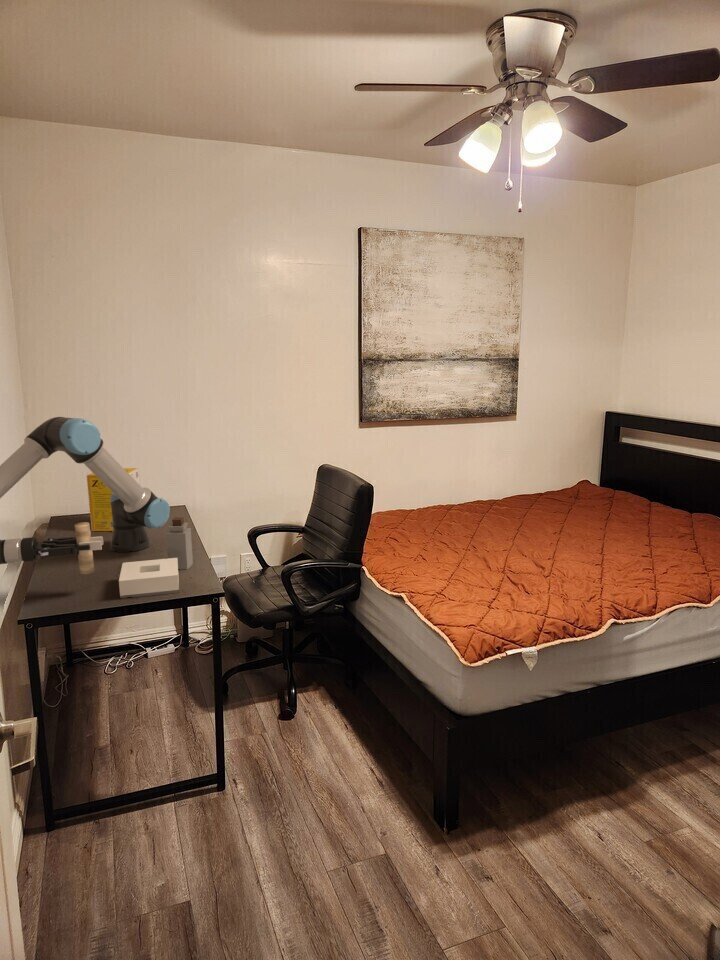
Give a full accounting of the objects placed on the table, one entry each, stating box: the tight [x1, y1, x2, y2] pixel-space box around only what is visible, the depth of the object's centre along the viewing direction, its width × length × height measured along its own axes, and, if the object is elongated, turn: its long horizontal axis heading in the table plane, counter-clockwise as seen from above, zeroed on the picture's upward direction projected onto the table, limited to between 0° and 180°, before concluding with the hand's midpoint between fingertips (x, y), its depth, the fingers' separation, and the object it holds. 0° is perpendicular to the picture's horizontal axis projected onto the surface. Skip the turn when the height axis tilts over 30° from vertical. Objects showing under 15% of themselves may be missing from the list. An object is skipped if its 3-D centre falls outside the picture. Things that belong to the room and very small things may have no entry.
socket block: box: [118, 558, 180, 599], centre depth 212 cm, size 18×18×6 cm
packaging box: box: [85, 467, 141, 532], centre depth 280 cm, size 16×16×25 cm
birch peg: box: [74, 521, 96, 575], centre depth 204 cm, size 4×4×16 cm
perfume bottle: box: [165, 516, 194, 571], centre depth 230 cm, size 7×7×18 cm
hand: (102, 542), depth 205 cm, fingers closed on birch peg, 4 cm apart
